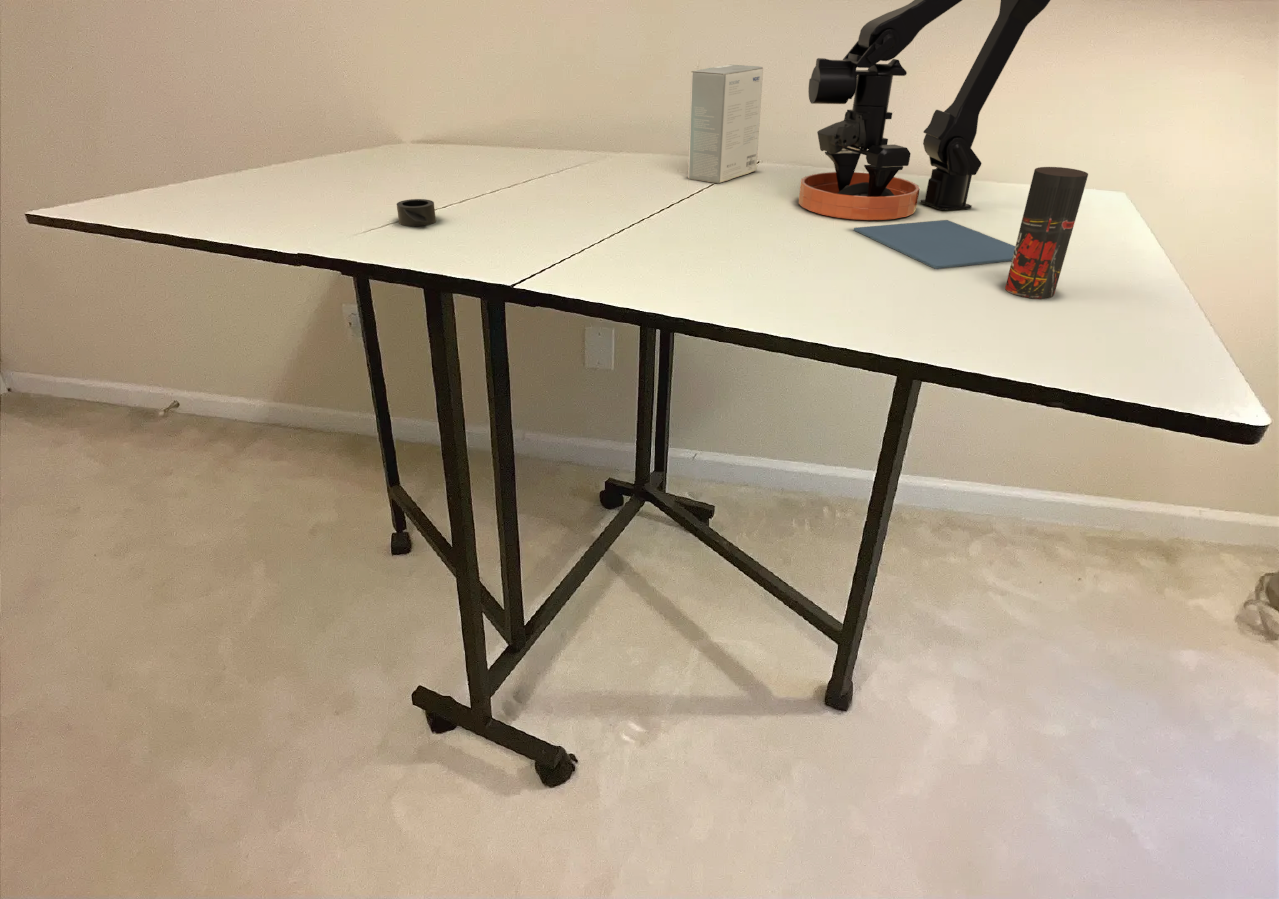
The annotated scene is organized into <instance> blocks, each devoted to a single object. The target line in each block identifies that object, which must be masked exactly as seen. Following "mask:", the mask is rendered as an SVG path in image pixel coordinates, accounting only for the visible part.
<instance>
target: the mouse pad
mask: <svg viewBox="0 0 1279 899" xmlns="http://www.w3.org/2000/svg"><path fill="white" fill-rule="evenodd" d="M853 231H854V232H857V233H859V234H861V235H863V236H865V237H867V238H869V239H871V240H874V241H876V242H877V243H880V244H882V245H883V246H886V247H888V248H889V249H892V250H895V251H897V252H898V253H901V254H903V255H906V256H907V257H910V258H911V259H914V260H916V261H918V262H920V263H922V264H924V265H926V266H929V267H931V268H933V269H934V270H937V269H949V268H957V267H968V266H975V265H985V264H995V263H996V264H997V263H1003V262H1004V263H1006V262H1012V258H1013V254H1014V250H1015V246H1016V245H1013V244H1010V243H1008V242H1005V241H1002V240H1000V239H998V238H995V237H993V236H990V235H988V234H985V233H982V232H980V231H977V230H974V229H972V228H969V227H967V226H964V225H961V224H959V223H957V222H956V223H955V222H953V221H951V220H948V219H941V220H930V221H920V222H919V221H917V222H908V223H907V222H906V223H895V224H882V225H872V226H871V225H870V226H860V227H853Z"/></svg>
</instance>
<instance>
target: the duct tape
mask: <svg viewBox="0 0 1279 899" xmlns="http://www.w3.org/2000/svg"><path fill="white" fill-rule="evenodd" d="M396 210H397V218H398V223H399V225H401V226H403V227H404V226H405V227H425V226H429V225H433V224H435V223H436V222H437V218H436V210H435V202H434V201H433V200H431V199H426V198H412V199H405V200H400V201H397V202H396Z"/></svg>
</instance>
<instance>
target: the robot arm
mask: <svg viewBox="0 0 1279 899" xmlns="http://www.w3.org/2000/svg"><path fill="white" fill-rule="evenodd" d="M962 1H963V0H912V1H911V2H910V3H908V4H905V5H904V6H901V7H899V8H896V9H894V10H890V11H888V12H886V13H884V14H881V15H880V16H877V17H875V18H873V19H871V20H869V21H867V22H866V23H865V24H864V25H863V26H862V27H861V29H860V31H859V35H858V40H857V41H856V42H855V43H854V44H853V46H852V47H851V49H850V50H849V51H848V52H847V53H846V54H845V56H844V57H843V59H828V58H824V57H818V58H816V60H815V66H814V67H813V70H812V72H811V76H810V78H809V79H808V101H809V103H810V104H812V105H845V104H847V103H848V101H849V100H852V99H853V104H852V109H847V110H846V112H845V114H844V118H843V120H841V121H837V122H835V123H832V124H830V125H827V126H825V127H824V128H821V129H819V130H818V131H817V138H818V144H819V149H820V151H821V152H824V154H825V156H827V157H828V158H829V159H830V160H831V161H832V163H833V165H834V170H835V171H834V172H836V177H837V183H838V189H839V191H841V190H843V189H844V187H845V186H847V185H850V182H851V179H852V177H853V174H854V172H856V168H857V166H858V162H859V160H860V159H861V158H860V157H861V155H862V156H863V155H864V156H865V160H866V163H867V164H864V165H863V166H864V168H865V170H866V173H869V186H868V196H881V194H882V193H883V191H884V190H885V188H886V187H887V185H888V184H889V182H890V181H891V180H892V179H893V177H896V175H897V174H898V173H899V171H903V169H904V167H909V165H910V161H911V160H910V159H911V155H912V153H911V152H910V150H909V148H908V147H906V146H902V145H898V144H888V143H889V138H886V137H884V136H885V129H886V123H887V122H886V121H887V120H892V118H893V112H892V111H888V109H889V103H890V97H891V92H892V84H893V80H894V79H893V78H894V76H895V77H897V76H898V77H905V76H907V74H908V71H907V70H906V69H905V68H904V67H903V66H902V64H901V61H900V60H899V59H896V57H897V56H898V55H900V54H901V53H902V52H903V51H904V50H905V49H906V48H907V47H908V46H909V45H911V43H912V42H913V41H914V39H916V37H917V36H918V34H919V33H920V32H921V31H922V30H923V29H924V28H925V27H926V26H928V25H929V24H931V23H932V22H933V21H935V20H936V19H937V18H939V17H941V16H942V15H943V14H945V13H946V12H948V11H949V10H951V9H952V8H953V7H955V6H956V5H958V4H959V3H961V2H962ZM1050 2H1051V0H1000V4H999V13H998V15H997V18H996V20H995V22H994V24H993V26H992V28H991V30H990V31H989V34H988V36H987V37H986V39H985V41H984V43H983V45H982V47H981V49H980V50H979V53H978V55H977V56H976V58H975V60H974V62H973V64H972V66H971V68H970V70H969V72H968V74H967V76H966V77H965V79H964V81H963V83H962V84H961V86H960V88H959V90H958V93H957V94H956V96H955V98H954V100H953V101H952V103H951V104H950V105H949V106H948V107H947V108H946V109H945V110H944V111H943V110H940V109H935V111H934V112H933V114H932V117H931V120H930V122H929V124H928V125H927V127H925V129H924V130H923V131H922V132H923V133H924V134H925V135H924V138H923V141H922V145H923V148H924V152H925V154H926V155H927V156H928V157H929V165H930V166H931V167H934V168H932V170H931V175H930V178H929V179H928V182H927V187H926V192H925V198H924V199H920V202H919V203H920V204H923V205H926V206H928V207H931V208H934V209H936V210H939V211H955V210H967V209H972V206H973V205H972V204H969V203H967V200H968V196H969V191H970V188H971V182H972V177H973V176H976V175H977V173H978V172H979V170H980V168H981V167H982V164H983V163H982V161H981V160H980V158H979V157H978V156H977V154H976V152H974V150H973V148H972V147H973V145H974V142H975V139H976V136H977V134H978V124H979V116H980V113H981V111H982V109H983V108H984V106H985V104H986V101H987V100H988V98H989V96H990V94H991V93H992V91H993V89H994V87H995V85H996V83H997V81H998V80H999V78H1000V76H1001V74H1002V72H1003V70H1004V68H1005V67H1006V65H1007V63H1008V61H1009V59H1010V57H1011V55H1012V54H1013V52H1014V50H1015V48H1016V46H1017V44H1018V43H1019V40H1020V39H1021V38H1022V35H1023V34H1024V32H1025V30H1026V28H1027V27H1028V25H1029V24H1030V23H1031V22H1032V21H1033V20H1034V19H1035V18H1036V17H1037V16H1038V15H1039V14H1040V13H1041V12H1043V11H1044V10H1045V9H1046V8H1047V6H1048V4H1049V3H1050ZM881 61H882V62H888V61H889V62H888V63H879V62H881ZM858 68H859V69H858Z"/></svg>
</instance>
